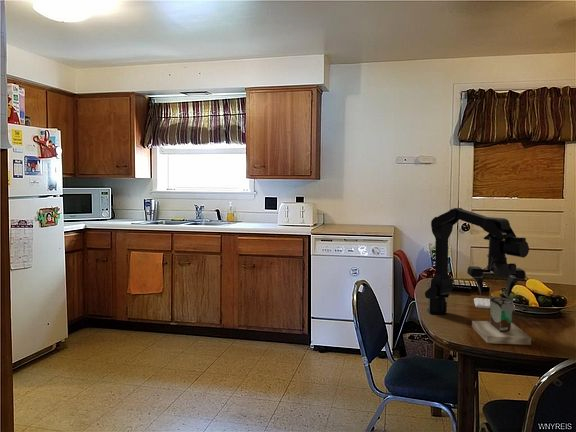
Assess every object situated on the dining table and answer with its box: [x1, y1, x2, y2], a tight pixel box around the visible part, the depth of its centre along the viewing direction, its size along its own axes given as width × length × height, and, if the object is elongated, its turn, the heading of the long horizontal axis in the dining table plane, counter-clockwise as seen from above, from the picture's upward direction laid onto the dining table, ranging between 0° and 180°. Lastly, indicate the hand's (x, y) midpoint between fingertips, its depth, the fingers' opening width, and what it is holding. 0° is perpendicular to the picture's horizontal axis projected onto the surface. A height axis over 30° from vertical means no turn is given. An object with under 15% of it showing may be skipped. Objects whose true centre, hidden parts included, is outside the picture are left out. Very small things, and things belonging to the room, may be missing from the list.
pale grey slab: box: [471, 320, 532, 346], centre depth 167 cm, size 14×18×3 cm
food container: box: [489, 296, 515, 332], centre depth 167 cm, size 12×6×10 cm, turn 176°
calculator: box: [473, 297, 490, 309], centre depth 208 cm, size 13×20×2 cm, turn 72°
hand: (494, 295), depth 172 cm, fingers open, 9 cm apart
